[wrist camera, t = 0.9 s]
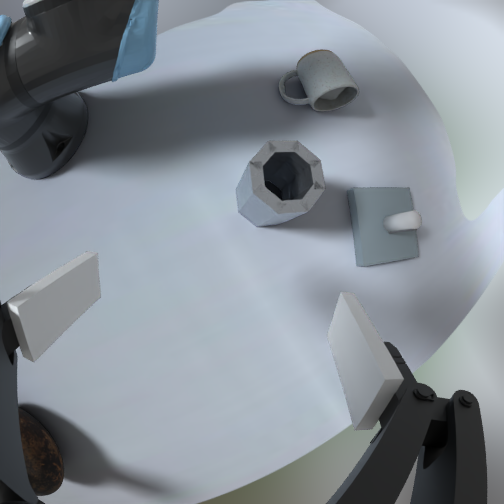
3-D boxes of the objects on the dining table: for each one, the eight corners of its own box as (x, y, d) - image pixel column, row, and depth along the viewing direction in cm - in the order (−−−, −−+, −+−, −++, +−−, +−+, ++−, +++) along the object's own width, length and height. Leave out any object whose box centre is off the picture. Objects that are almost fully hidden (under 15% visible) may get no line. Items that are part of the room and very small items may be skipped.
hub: (234, 174, 36) (246, 141, 25) (286, 171, 37) (316, 141, 26) (240, 228, 36) (255, 216, 25) (293, 223, 37) (328, 210, 26)
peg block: (347, 190, 38) (377, 177, 31) (401, 190, 40) (434, 179, 32) (356, 266, 39) (389, 267, 31) (410, 256, 40) (444, 256, 32)
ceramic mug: (326, 70, 39) (344, 45, 31) (346, 109, 39) (368, 86, 31) (269, 76, 37) (280, 46, 30) (287, 118, 38) (303, 91, 30)
